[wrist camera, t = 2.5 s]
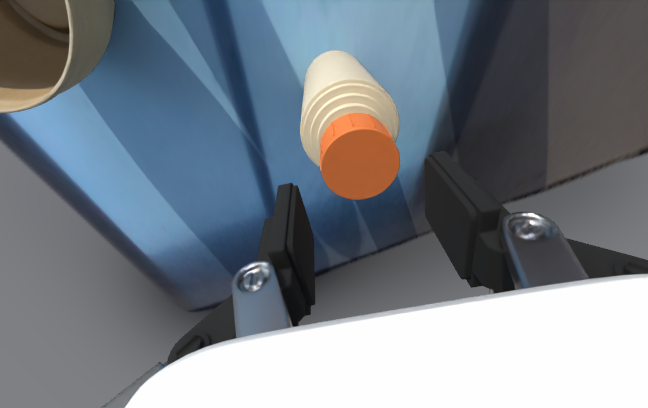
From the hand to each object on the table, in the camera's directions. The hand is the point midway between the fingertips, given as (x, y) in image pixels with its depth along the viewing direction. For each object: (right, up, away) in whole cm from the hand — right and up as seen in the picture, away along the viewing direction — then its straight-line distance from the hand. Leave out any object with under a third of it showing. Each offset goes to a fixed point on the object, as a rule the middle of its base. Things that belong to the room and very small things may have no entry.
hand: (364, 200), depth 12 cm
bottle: (0, +12, +18) cm, 22 cm away
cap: (0, +2, +3) cm, 3 cm away
